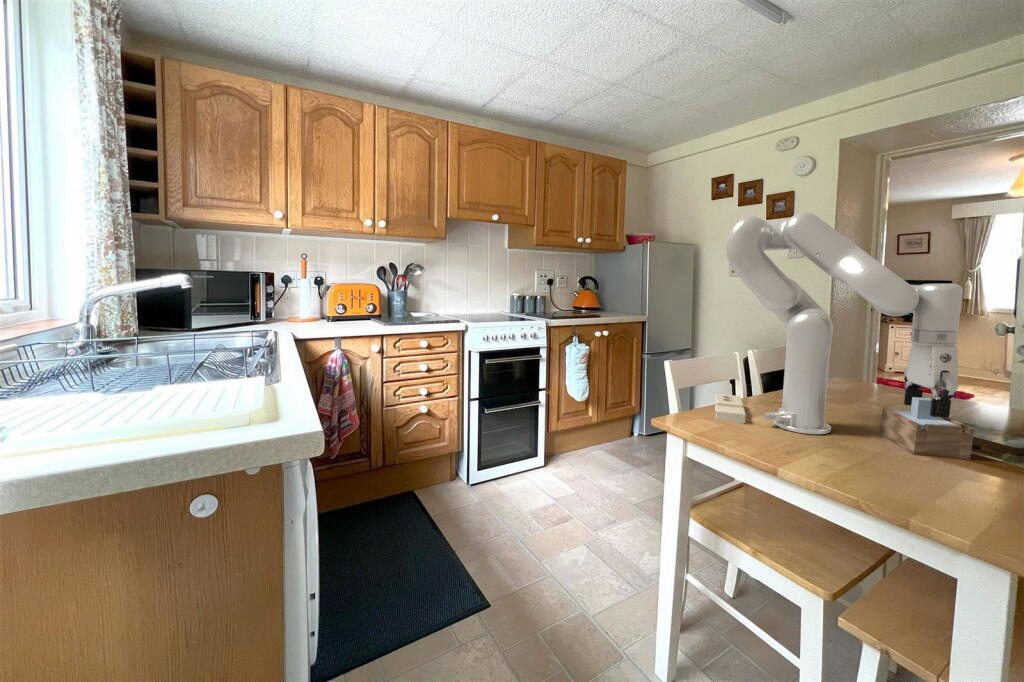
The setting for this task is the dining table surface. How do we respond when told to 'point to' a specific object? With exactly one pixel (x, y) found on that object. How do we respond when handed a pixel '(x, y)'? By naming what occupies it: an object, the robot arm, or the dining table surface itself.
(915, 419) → the lid
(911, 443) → the box
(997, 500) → the dining table surface
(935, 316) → the robot arm
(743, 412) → the electrical outlet
